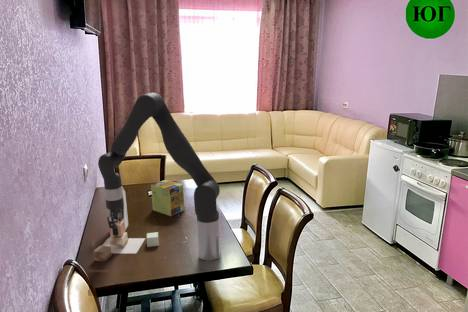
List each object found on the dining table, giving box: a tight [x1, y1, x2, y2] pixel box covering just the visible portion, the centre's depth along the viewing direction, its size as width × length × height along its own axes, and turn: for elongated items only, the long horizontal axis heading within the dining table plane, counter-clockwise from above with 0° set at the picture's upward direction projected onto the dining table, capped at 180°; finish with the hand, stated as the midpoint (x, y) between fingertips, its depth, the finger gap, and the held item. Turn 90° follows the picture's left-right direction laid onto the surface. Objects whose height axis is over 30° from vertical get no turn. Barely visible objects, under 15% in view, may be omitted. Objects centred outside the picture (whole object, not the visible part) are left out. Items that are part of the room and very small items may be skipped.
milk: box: [115, 186, 129, 230], centre depth 183 cm, size 6×6×22 cm
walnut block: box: [92, 245, 113, 263], centre depth 156 cm, size 5×5×5 cm
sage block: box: [146, 231, 160, 248], centre depth 167 cm, size 5×5×5 cm
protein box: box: [150, 179, 185, 217], centre depth 205 cm, size 10×15×16 cm
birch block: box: [108, 231, 128, 249], centre depth 166 cm, size 6×6×5 cm
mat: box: [101, 237, 146, 254], centre depth 167 cm, size 18×14×1 cm
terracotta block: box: [109, 221, 126, 237], centre depth 164 cm, size 5×5×5 cm
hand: (118, 232), depth 165 cm, fingers closed on terracotta block, 5 cm apart
